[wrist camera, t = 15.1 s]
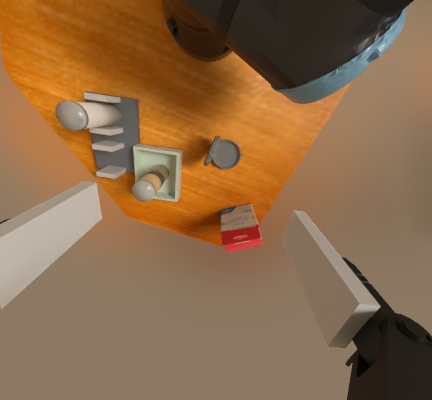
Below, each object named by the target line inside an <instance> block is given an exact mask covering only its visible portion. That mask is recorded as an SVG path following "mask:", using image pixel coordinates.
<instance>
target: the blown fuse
mask: <svg viewBox="0 0 432 400" xmlns="http://www.w3.org/2000/svg"><path fill="white" fill-rule="evenodd" d="M168 176H169V169H168V168H167V167H166V166H165V165H163V164H157V165H156V166H154V167H153V168H152V169H151V170H150V171H148V172H147V173H146V174H145V175H144V176H143V177H142V178H141V179H140V180H139V181H137V182H136V183H135V184H134V185H133V186H132V194H133V196H134V197H135V198H136V199H137V200H139V201H142V202H148V201H150V200H151V199H152V198H153V197H154V195H155V194H156V192H157V191H158V190H159V189H160V188H161V186H162V185H163V183H164V182H165V181H166V179H167V178H168Z"/></svg>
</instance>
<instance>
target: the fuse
mask: <svg viewBox="0 0 432 400" xmlns="http://www.w3.org/2000/svg"><path fill="white" fill-rule="evenodd" d="M56 116H57V118H58V120H59V122H60V123H61V124H62V125H63V126H64V127H66V128H67V129H70V130H82V129H86V128H94V127H101V126H108V125H115V124H118V123H120V121H121V119H122V114H121V111H120V110H119V108H118V107H117V106H116V105H114V104H108V103H90V102H74V101H61V102H59V103H58V104H57V106H56Z"/></svg>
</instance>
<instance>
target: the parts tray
mask: <svg viewBox="0 0 432 400" xmlns="http://www.w3.org/2000/svg"><path fill="white" fill-rule="evenodd" d="M133 150H134V167H135V183H136V182H137V181H139V180H140V179H141V178H142V177H143V176H144V175H145V174H146V173H147V172H148V171H150V170H151V169H152V168H153V167H154V166H156V165H157V164H163V165H165V166H166V167H167V168H168V169H169V176H168V178H167V179H166V181H165V182H164V183H163V185H162V186H161V188H160V189H159V190H158V191H157V192H156V194H155V195H154V197H153V199H160V200H167V201H175V202H177V201H178V199H179V197H180V190H181V173H182V156H183V150H182V149H175V148H168V147H161V146H154V145H148V144H141V143H140V144H137V145H135V146H133Z"/></svg>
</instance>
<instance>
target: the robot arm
mask: <svg viewBox="0 0 432 400" xmlns="http://www.w3.org/2000/svg"><path fill="white" fill-rule="evenodd" d="M413 1H414V0H162V6H163V11H164V16H165V19H166V22H167V25H168V27H169V30H170V32H171V33H172V35H173V37H174V38H175V40H176V41H177V43H178V44H179V45H180V47H181V48H182V49H183V50H184V51H185V52H187V53H188V54H189V55H191V56H192V57H194V58H197V59H199V60H204V61H214V60H218V59H221V58H223V57H225V56H227V55H228V54H230V53H231V52H232V51H233V52H234V53H235V54H237V55H238V56H239V57H240V58H241V59H242V60H244V61H245V62H246V63H247V64H248V65H249V66H250V67H252V68H253V69H254V70H255V71H256V72H257V73H259V74H260V75H261V76H262V77H263V78H264V79H265V80H267V81H268V82H269V83H270V84H271V87H272V88H273V89H274V90H275V91H278V92H280V93H282V94H283V95H284V96H286V97H287V98H288V99H290V100H291V101H292V102H294V103H298V104H308V103H312V102H316V101H318V100H321V99H323V98H325V97H327V96H329V95H331V94H332V93H334V92H336V91H338V90H339V89H341V88H342V87H344V86H345V85H347V84H348V83H349V82H351V81H352V80H353V79H355V78H356V77H357V76H359V75H360V74H361V73H362V72H363V71H365V70H366V69H367V67H368V63H370V62H371V61H373V60H375V59H377V58H378V57H380V56H381V55H382V54H383V52H385V51H386V49H388V47H389V46H390V45H391V44H392V43H393V42H394V40H395V39H396V37H397V36H398V34H399V33H400V31H401V30H402V28H403V25H404V23H405V19H406V7H407V6H408V5H409V4H410V3H411V2H413ZM101 219H102V216H101V209H100V203H99V197H98V191H97V184H96V183H95V182H88V181H83V182H81V183H79V184H77V185H75V186H74V187H72V188H70V189H68V190H66V191H64V192H62V193H60V194H58V195H56V196H54V197H52V198H50V199H48V200H46V201H45V202H43V203H41V204H39V205H37V206H35V207H33V208H31V209H29V210H27V211H25V212H23V213H21V214H19V215H17V216H15V217H13V218H10V219H7V220H4V221H2V222H0V308H3V307H4V306H5V305H6V304H8V303H9V302H10V301H11V300H12V299H13V298H14V297H15V296H17V295H18V294H19V293H20V292H21V291H22V290H23V289H24V288H25V287H26V286H27V285H29V284H30V283H31V282H32V281H33V280H34V279H35V278H36V277H37V276H39V275H40V274H41V273H42V272H43V271H44V270H45V269H46V268H48V267H49V266H50V265H51V264H52V263H53V262H54V261H55V260H56V259H58V258H59V257H60V256H61V255H62V254H63V253H64V252H65V251H66V250H68V249H69V248H70V247H71V246H72V245H73V244H74V243H75V242H76V241H77V240H79V239H80V238H81V237H82V236H83V235H84V234H85V233H86V232H87V231H89V230H90V229H91V228H92V227H93V226H94V225H95V224H96V223H97V222H99V221H100V220H101ZM282 245H283V247H284V249H285V252H286V254H287V256H288V258H289V261H290V263H291V265H292V267H293V270H294V271H295V274H296V276H297V279H298V281H299V283H300V285H301V288H302V290H303V292H304V294H305V296H306V299H307V301H308V303H309V306H310V308H311V310H312V312H313V314H314V317H315V319H316V321H317V323H318V326H319V328H320V330H321V332H322V334H323V337H324V339H325V342H326V344H327V346H331V347H340V348H346V347H347V346H348V344H349V343H350V342H351V341H352V340H353V342H354V343H355V345H356V347H357V351H356V352H355V353H354V354H353V355H352V356H351V357H350V358H349V359H348V360H347V362H346V365H347V366H350V364H351V363H353V364H352V371H351V377H350V383H349V390H348V396H347V400H432V336H431V335H430V334H429V333H428V332H427V331H426V330H425V329H424V328H423V327H422V326H420V325H419V324H418V323H416V322H415V321H413V320H412V319H410V318H408V317H406V316H404V315H402V314H397V313H395V312H394V311H393V310H392V309H391V307H390V306H389V305H388V304H387V303H386V302H385V300H384V299H383V298H382V297H381V296H380V294H379V293H378V292H377V291H376V290H375V289H374V287H373V286H372V285H371V284H369V282H368V280H367V279H366V278H365V277H364V276H362V273H361V272H360V271H359V270H358V269H357V267H356V266H355V265H353V264H352V263H351V262H350V261H348V260H347V259H346V258H343V257H340V255H339V254H338V253H337V251H336V250H335V249H334V248H333V247H332V245H331V244H330V243H329V242H328V240H327V239H326V238H325V237H324V235H323V234H322V233H321V232H320V230H319V229H318V228H317V227H316V225H314V223H313V222H312V221H311V219H310V218H309V217H308V215H307V214H306V213H305V212H303V211H295V210H293V213H292V216H291V218H290V221H289V223H288V226H287V229H286V231H285V234H284V237H283V239H282Z"/></svg>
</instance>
